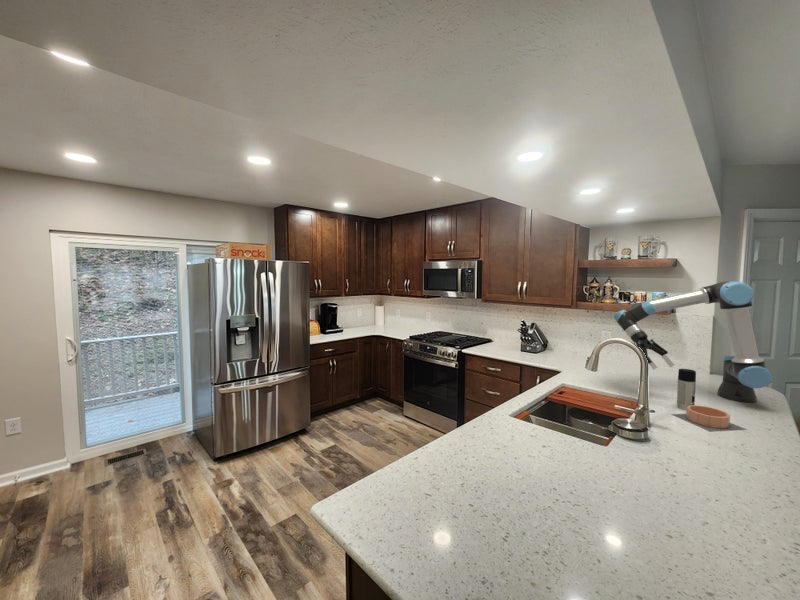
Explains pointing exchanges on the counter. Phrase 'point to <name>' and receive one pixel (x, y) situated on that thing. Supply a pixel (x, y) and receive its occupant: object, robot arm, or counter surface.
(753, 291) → the robot arm
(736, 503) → the counter surface
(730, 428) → the mat
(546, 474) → the counter surface
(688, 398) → the spray can
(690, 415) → the bowl
